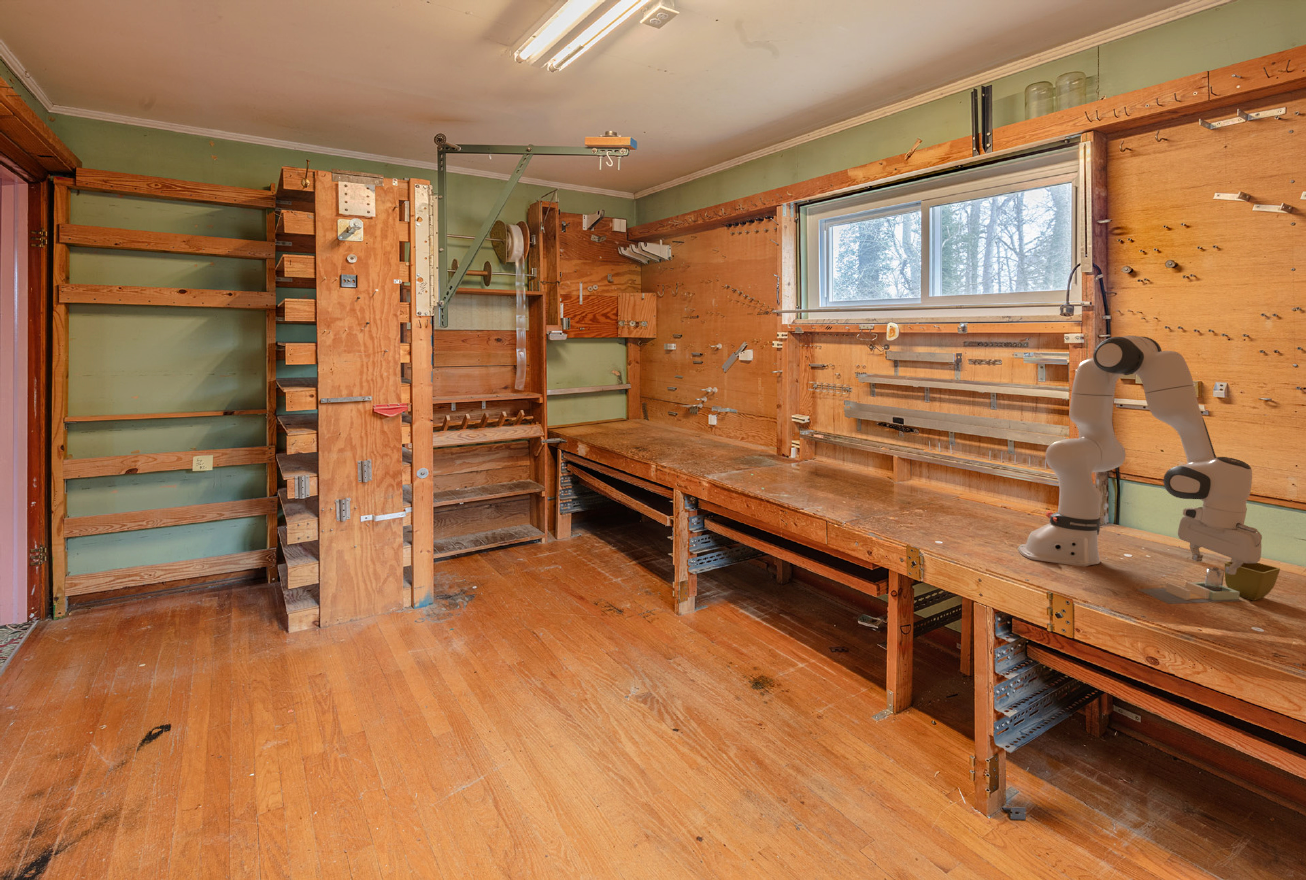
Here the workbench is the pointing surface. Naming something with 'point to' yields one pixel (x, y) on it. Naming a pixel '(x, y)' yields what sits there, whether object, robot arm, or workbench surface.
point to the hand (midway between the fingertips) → (1212, 566)
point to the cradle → (1188, 591)
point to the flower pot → (1252, 580)
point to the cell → (1214, 579)
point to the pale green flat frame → (1221, 593)
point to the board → (1174, 599)
